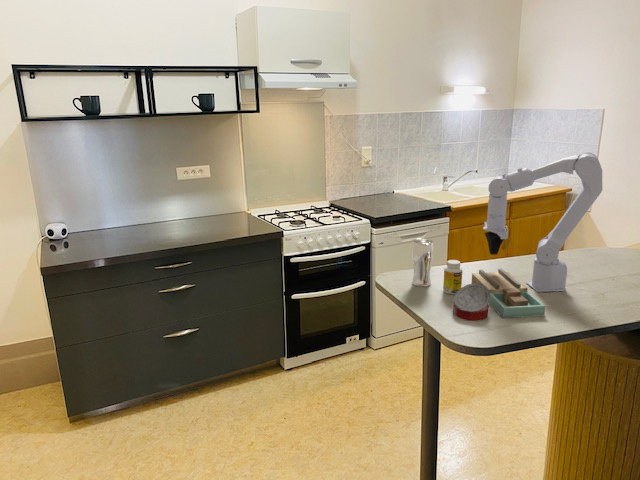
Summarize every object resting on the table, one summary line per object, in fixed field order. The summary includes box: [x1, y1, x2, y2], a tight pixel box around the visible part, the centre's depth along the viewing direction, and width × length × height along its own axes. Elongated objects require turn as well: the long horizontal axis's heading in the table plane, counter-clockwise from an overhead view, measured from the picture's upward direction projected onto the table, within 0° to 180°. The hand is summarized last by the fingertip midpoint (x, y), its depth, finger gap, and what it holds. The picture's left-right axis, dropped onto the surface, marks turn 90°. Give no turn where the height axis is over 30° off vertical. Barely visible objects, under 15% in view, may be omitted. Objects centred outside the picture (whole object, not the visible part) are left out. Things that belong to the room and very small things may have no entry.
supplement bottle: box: [442, 259, 463, 296], centre depth 155 cm, size 6×6×10 cm
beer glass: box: [411, 237, 434, 288], centre depth 162 cm, size 7×7×15 cm
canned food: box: [452, 282, 490, 322], centre depth 141 cm, size 11×10×10 cm
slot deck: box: [471, 268, 528, 293], centre depth 155 cm, size 12×14×5 cm
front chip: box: [508, 295, 528, 307], centre depth 142 cm, size 4×4×3 cm
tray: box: [488, 290, 546, 319], centre depth 143 cm, size 12×11×3 cm
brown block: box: [502, 288, 521, 305], centre depth 145 cm, size 4×4×3 cm
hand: (493, 253), depth 163 cm, fingers closed
